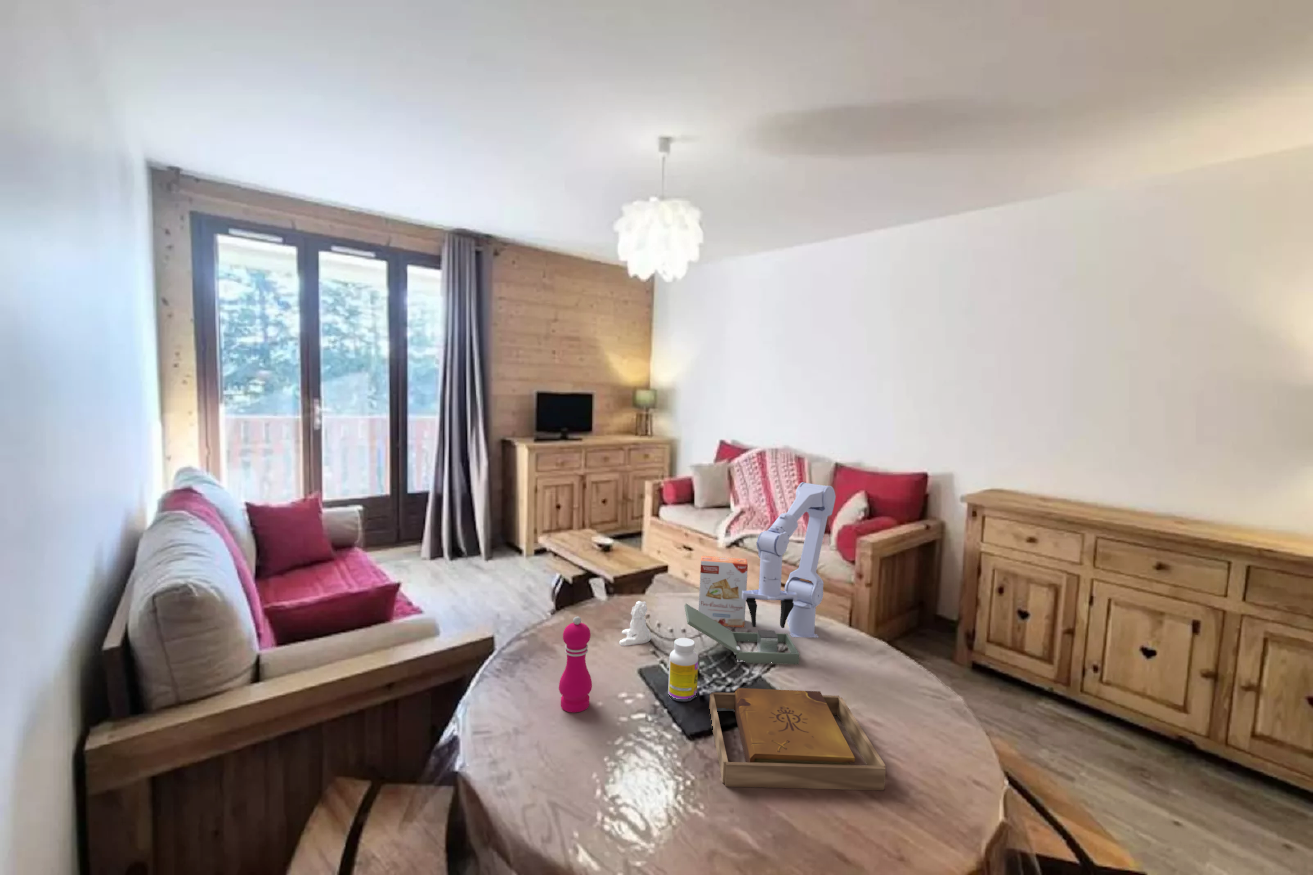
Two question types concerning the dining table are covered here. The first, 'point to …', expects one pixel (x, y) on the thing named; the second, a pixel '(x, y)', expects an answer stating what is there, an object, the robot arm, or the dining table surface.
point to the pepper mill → (575, 668)
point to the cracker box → (723, 589)
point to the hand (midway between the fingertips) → (767, 626)
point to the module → (767, 641)
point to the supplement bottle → (683, 669)
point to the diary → (789, 728)
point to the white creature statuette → (637, 627)
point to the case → (730, 638)
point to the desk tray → (801, 773)
